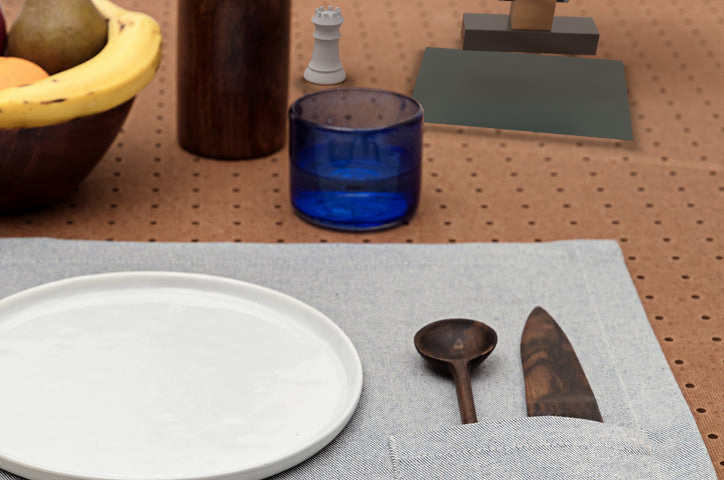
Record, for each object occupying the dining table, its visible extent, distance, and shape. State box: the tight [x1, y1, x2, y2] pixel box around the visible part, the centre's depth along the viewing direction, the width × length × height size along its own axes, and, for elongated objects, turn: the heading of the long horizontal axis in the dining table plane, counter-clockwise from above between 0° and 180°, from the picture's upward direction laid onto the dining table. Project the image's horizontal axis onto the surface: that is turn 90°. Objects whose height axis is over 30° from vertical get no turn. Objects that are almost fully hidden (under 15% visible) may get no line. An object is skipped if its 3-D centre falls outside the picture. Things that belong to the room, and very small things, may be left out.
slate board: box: [411, 46, 634, 142], centre depth 105 cm, size 20×20×1 cm
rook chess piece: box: [302, 5, 347, 86], centre depth 106 cm, size 4×4×8 cm
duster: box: [460, 0, 601, 56], centre depth 99 cm, size 12×5×8 cm, turn 81°
